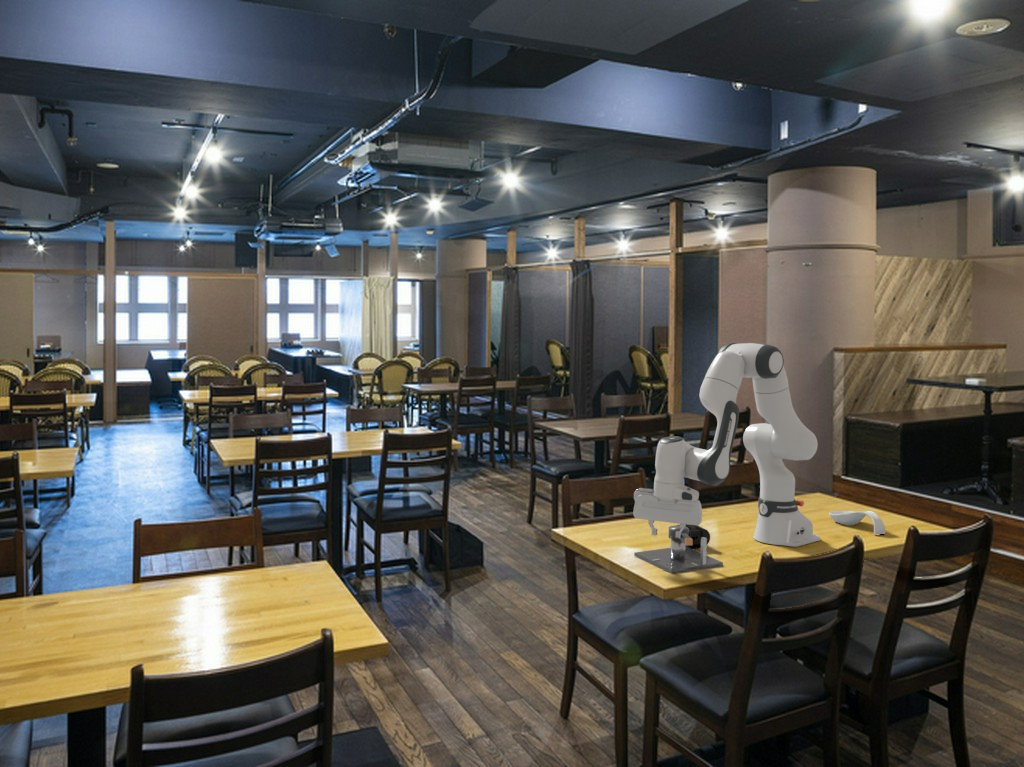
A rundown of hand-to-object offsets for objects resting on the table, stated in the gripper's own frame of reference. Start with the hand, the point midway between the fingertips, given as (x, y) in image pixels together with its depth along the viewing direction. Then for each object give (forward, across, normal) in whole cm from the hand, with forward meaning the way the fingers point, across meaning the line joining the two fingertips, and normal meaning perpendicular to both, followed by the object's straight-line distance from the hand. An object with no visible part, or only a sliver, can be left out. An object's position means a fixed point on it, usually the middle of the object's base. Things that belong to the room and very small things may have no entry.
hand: (666, 536), depth 240 cm
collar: (+1, +4, +3) cm, 5 cm away
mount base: (+9, +3, +6) cm, 11 cm away
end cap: (+8, +5, +25) cm, 27 cm away
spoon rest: (+6, +57, +72) cm, 92 cm away
